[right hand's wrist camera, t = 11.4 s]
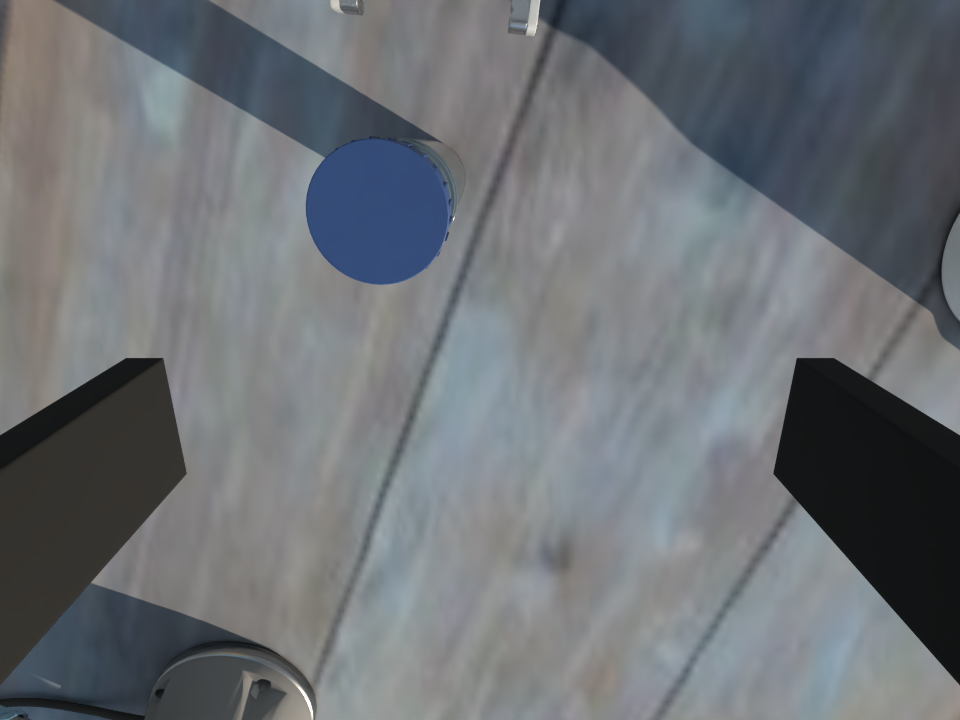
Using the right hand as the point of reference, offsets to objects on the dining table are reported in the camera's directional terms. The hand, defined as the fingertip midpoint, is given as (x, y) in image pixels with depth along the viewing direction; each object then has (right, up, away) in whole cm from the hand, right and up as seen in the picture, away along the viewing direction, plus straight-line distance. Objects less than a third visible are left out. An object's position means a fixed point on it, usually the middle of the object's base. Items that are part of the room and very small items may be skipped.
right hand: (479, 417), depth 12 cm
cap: (-3, +6, +7) cm, 10 cm away
